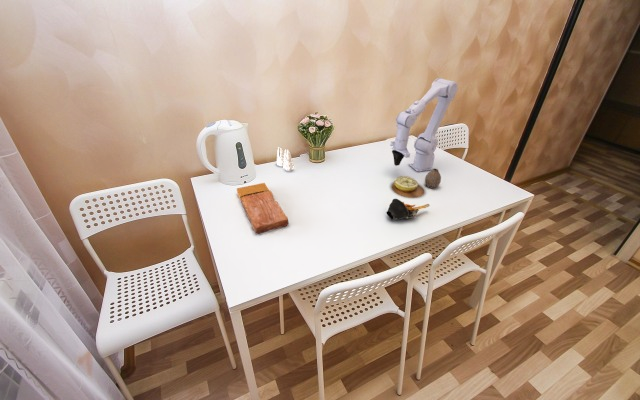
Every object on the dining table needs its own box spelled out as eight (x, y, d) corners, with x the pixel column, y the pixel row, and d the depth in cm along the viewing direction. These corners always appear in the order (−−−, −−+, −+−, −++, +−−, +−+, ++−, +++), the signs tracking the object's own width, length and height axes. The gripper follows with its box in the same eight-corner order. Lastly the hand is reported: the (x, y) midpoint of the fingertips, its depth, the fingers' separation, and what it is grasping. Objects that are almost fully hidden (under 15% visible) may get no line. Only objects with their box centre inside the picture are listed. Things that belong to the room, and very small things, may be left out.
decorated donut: (421, 187, 136) (422, 180, 134) (408, 195, 130) (410, 188, 128) (402, 179, 143) (403, 172, 141) (389, 186, 136) (390, 179, 134)
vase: (436, 191, 134) (441, 174, 129) (421, 186, 137) (426, 170, 132) (440, 185, 139) (445, 168, 134) (425, 180, 142) (430, 164, 137)
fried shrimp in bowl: (378, 204, 116) (411, 181, 120) (388, 226, 120) (420, 203, 124) (393, 208, 107) (427, 184, 112) (403, 232, 111) (436, 207, 116)
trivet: (412, 179, 143) (412, 179, 143) (430, 195, 131) (431, 195, 131) (385, 183, 139) (385, 183, 139) (402, 200, 127) (402, 199, 127)
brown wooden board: (265, 188, 132) (265, 181, 130) (289, 226, 110) (289, 219, 108) (237, 194, 127) (236, 187, 125) (255, 235, 105) (254, 228, 103)
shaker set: (295, 171, 146) (294, 151, 140) (288, 173, 144) (287, 153, 138) (282, 162, 154) (281, 143, 148) (275, 164, 152) (274, 144, 145)
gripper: (386, 133, 139) (382, 159, 146) (402, 145, 127) (397, 172, 135) (399, 132, 140) (394, 157, 148) (416, 144, 129) (410, 170, 137)
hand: (396, 164), depth 142 cm, fingers closed
